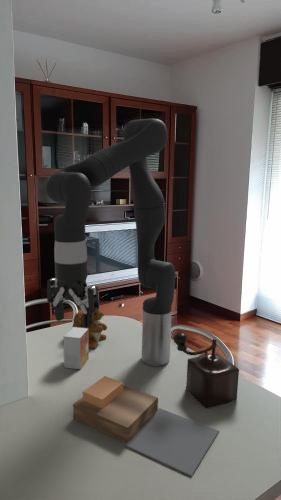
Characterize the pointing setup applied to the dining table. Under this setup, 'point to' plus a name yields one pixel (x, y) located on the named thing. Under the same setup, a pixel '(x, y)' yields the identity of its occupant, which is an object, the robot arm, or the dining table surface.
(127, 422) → the brown box
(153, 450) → the mat
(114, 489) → the dining table surface
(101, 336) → the brown teddy bear
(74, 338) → the small box
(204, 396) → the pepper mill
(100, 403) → the orange tan block
